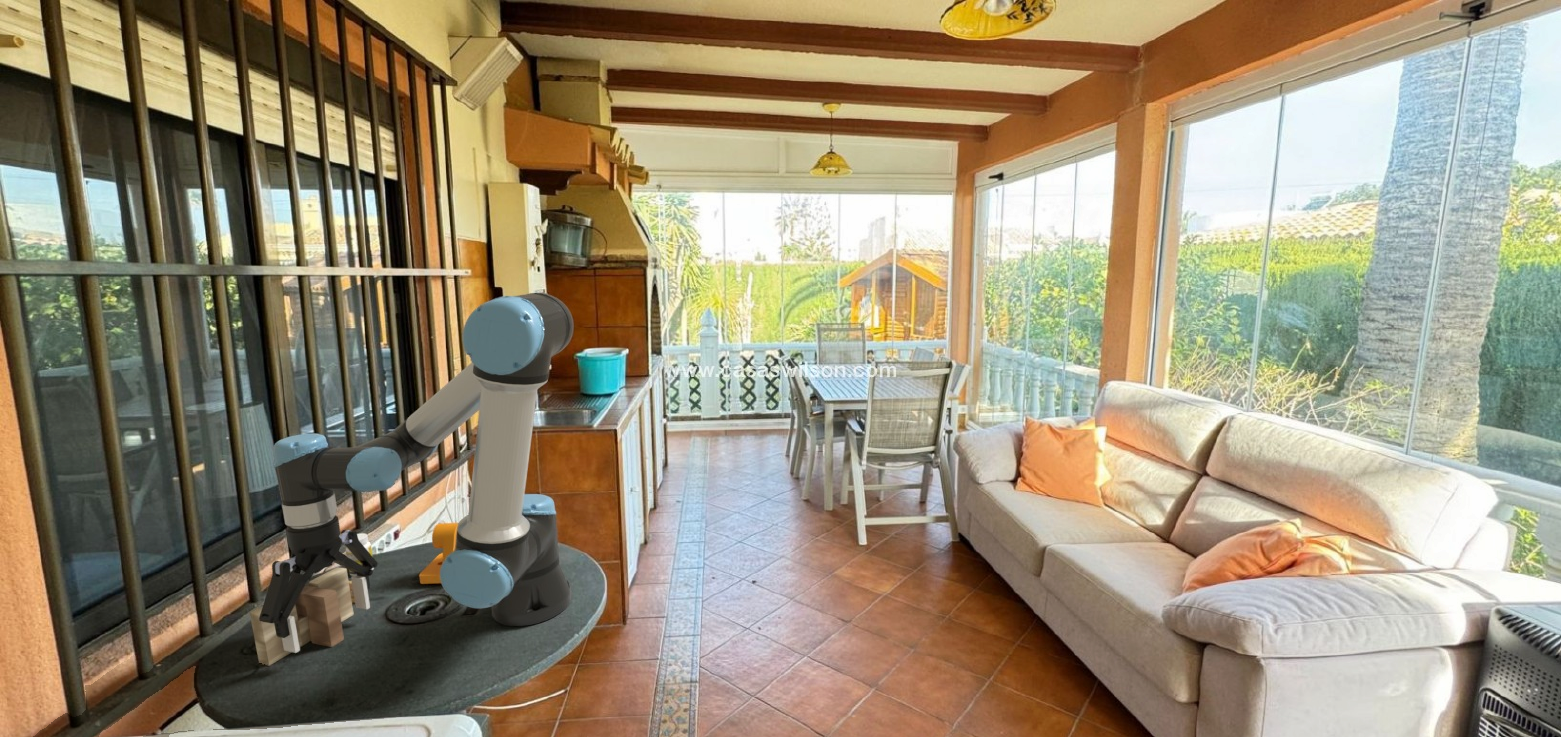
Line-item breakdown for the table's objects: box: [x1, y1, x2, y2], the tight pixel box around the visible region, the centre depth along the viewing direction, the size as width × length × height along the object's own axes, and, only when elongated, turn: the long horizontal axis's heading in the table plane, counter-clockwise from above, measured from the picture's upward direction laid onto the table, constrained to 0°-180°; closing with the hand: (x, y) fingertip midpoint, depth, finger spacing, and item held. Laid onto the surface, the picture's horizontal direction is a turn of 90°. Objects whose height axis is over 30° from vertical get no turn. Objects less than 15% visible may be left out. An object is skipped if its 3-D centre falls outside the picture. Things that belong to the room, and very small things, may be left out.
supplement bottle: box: [345, 533, 375, 577], centre depth 139 cm, size 5×5×8 cm
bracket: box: [418, 522, 459, 585], centre depth 137 cm, size 11×7×12 cm, turn 4°
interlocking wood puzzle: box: [249, 566, 355, 667], centre depth 115 cm, size 2×16×10 cm, turn 165°
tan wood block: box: [265, 584, 345, 648], centre depth 115 cm, size 14×2×10 cm, turn 75°
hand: (329, 628), depth 113 cm, fingers open, 13 cm apart
